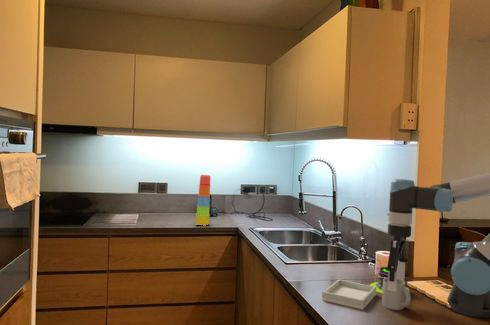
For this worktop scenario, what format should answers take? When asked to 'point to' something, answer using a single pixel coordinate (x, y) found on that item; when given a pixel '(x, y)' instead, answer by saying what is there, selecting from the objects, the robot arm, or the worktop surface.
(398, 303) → the cup
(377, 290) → the toy cauldron
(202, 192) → the stacking cups
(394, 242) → the robot arm
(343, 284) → the shallow rectangular tray
